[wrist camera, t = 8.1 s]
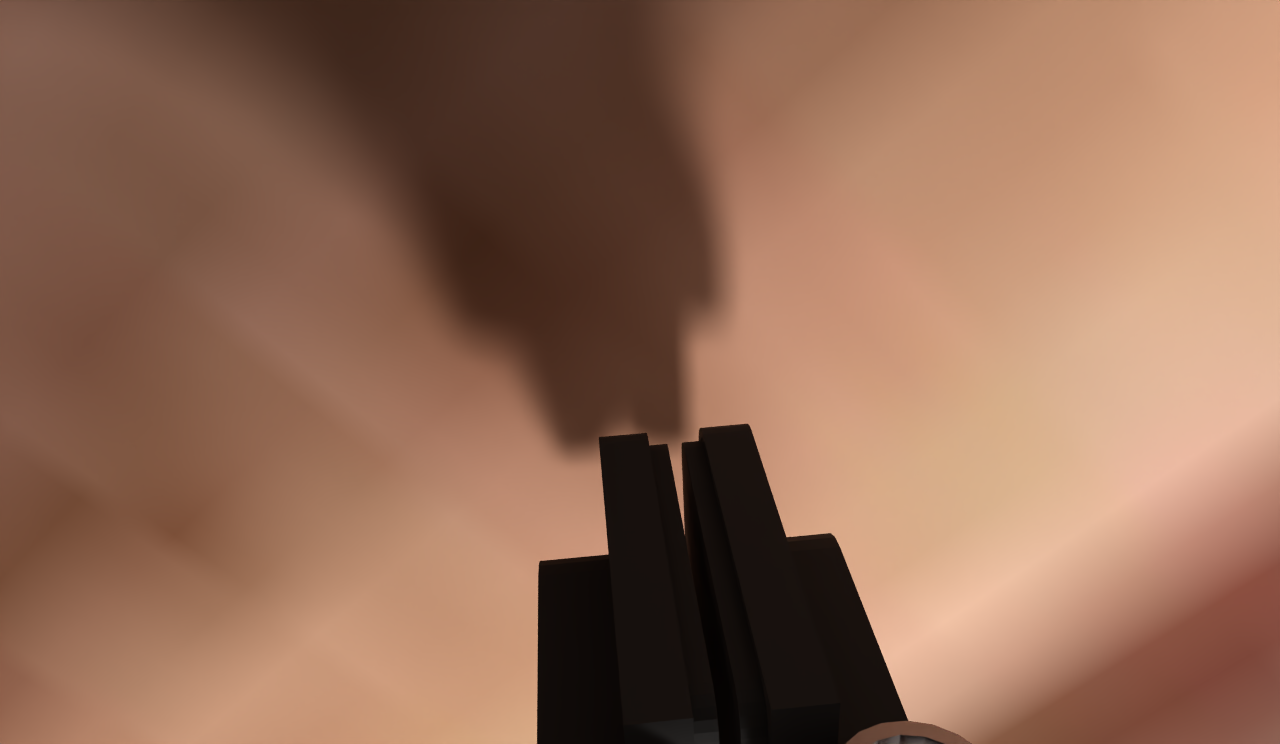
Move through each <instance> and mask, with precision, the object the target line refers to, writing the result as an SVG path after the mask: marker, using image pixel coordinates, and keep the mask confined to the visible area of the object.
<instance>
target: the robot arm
mask: <svg viewBox="0 0 1280 744" xmlns="http://www.w3.org/2000/svg"><path fill="white" fill-rule="evenodd" d="M599 445H600V457H601V469H602V480H603V492H604V504H605V516H606V528H607V539H608V551H609V555H599V556H589V557H578V558H568V559H557V560H547V561H540V563H539V575H538V699H537V744H971V743H970V742H968V741H967V740H966V739H964V738H963V737H961V736H960V735H958V734H955V733H953V732H950V731H948V730H945V729H943V728H940V727H938V726H935V725H932V724H925V723H919V722H912V721H908V719H907V716H906V714H905V711H904V709H903V706H902V704H901V701H900V699H899V696H898V694H897V691H896V688H895V686H894V683H893V681H892V678H891V676H890V673H889V671H888V668H887V666H886V663H885V661H884V658H883V655H882V653H881V650H880V648H879V645H878V643H877V640H876V638H875V635H874V633H873V630H872V627H871V625H870V622H869V620H868V617H867V615H866V612H865V610H864V607H863V605H862V602H861V600H860V597H859V594H858V592H857V589H856V587H855V584H854V582H853V579H852V577H851V574H850V572H849V569H848V567H847V564H846V561H845V559H844V556H843V554H842V551H841V549H840V546H839V544H838V542H837V540H836V538H835V537H834V536H833V535H832V534H831V533H828V534H818V535H807V536H797V537H786V535H785V532H784V529H783V526H782V522H781V519H780V516H779V513H778V510H777V507H776V504H775V501H774V498H773V495H772V492H771V489H770V486H769V483H768V480H767V477H766V473H765V470H764V467H763V464H762V461H761V458H760V455H759V452H758V449H757V446H756V443H755V440H754V437H753V434H752V431H751V428H750V426H749V425H748V424H740V425H729V426H718V427H707V428H700V430H699V441H695V442H684V443H682V473H683V498H684V522H685V534H684V529H683V523H682V518H681V513H680V508H679V502H678V497H677V492H676V487H675V481H674V476H673V471H672V465H671V460H670V455H669V450H668V445H667V444H662V445H651V446H649V441H648V436H647V433H641V434H630V435H619V436H608V437H599Z"/></svg>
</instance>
